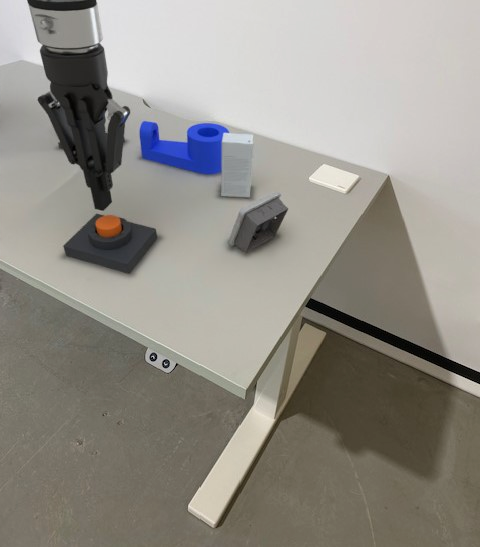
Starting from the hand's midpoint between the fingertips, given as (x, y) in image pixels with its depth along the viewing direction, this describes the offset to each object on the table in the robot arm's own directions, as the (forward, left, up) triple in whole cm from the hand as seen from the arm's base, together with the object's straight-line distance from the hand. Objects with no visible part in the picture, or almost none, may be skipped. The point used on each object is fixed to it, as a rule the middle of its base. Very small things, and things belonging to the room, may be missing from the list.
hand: (103, 205), depth 67 cm
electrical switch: (+23, +11, -9) cm, 27 cm away
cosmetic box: (+14, +25, -9) cm, 30 cm away
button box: (0, 0, -9) cm, 9 cm away
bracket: (-1, +33, -9) cm, 34 cm away
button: (0, 0, -5) cm, 5 cm away
